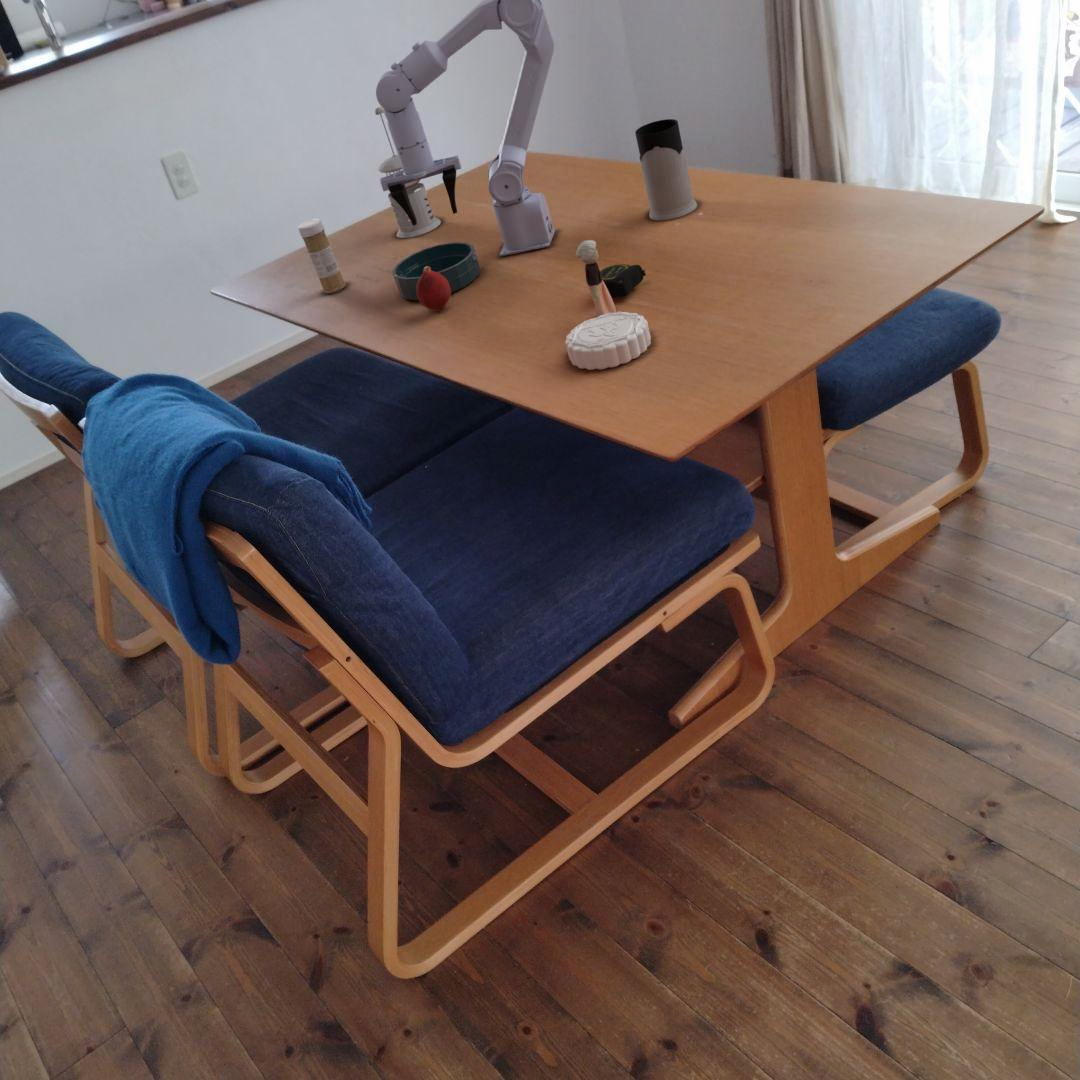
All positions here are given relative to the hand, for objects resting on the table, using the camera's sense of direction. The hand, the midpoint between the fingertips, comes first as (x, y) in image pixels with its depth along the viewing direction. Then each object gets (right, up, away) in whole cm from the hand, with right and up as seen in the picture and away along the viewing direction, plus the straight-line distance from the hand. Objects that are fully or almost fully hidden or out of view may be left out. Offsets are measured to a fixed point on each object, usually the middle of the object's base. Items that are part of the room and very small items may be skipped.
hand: (435, 217), depth 201 cm
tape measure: (+32, -20, -27) cm, 47 cm away
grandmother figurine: (+29, -25, -33) cm, 51 cm away
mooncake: (+29, -32, -43) cm, 61 cm away
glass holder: (+44, +2, 0) cm, 44 cm away
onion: (+2, -20, -12) cm, 23 cm away
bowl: (+1, -12, -1) cm, 12 cm away
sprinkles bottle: (-20, -11, +12) cm, 26 cm away
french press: (-7, +7, +30) cm, 32 cm away
